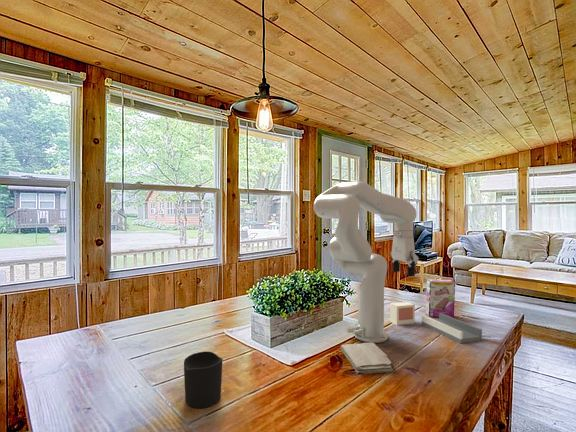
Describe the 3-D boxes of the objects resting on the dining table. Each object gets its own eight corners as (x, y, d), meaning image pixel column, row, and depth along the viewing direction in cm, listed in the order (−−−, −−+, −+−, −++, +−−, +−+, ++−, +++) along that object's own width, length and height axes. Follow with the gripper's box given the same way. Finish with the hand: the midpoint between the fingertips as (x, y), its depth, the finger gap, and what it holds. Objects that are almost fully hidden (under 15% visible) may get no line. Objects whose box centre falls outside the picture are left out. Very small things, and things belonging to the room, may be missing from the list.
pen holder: (224, 388, 87) (225, 351, 87) (218, 410, 78) (218, 368, 77) (189, 388, 87) (189, 351, 87) (178, 410, 77) (178, 368, 77)
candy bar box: (429, 317, 147) (429, 281, 146) (425, 313, 152) (426, 278, 151) (455, 318, 146) (455, 281, 145) (450, 314, 151) (451, 279, 150)
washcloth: (357, 376, 95) (357, 365, 95) (338, 350, 113) (339, 341, 113) (396, 373, 97) (396, 363, 97) (371, 348, 114) (371, 339, 114)
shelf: (421, 324, 137) (422, 315, 137) (440, 322, 140) (441, 313, 140) (460, 343, 118) (460, 332, 118) (481, 340, 121) (481, 329, 121)
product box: (396, 325, 136) (397, 306, 136) (389, 321, 141) (390, 303, 141) (414, 323, 139) (415, 304, 139) (407, 319, 144) (407, 301, 144)
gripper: (384, 232, 146) (384, 270, 147) (409, 236, 130) (409, 278, 130) (398, 232, 149) (398, 269, 149) (425, 235, 132) (424, 277, 133)
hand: (403, 273), depth 140 cm, fingers open, 9 cm apart
